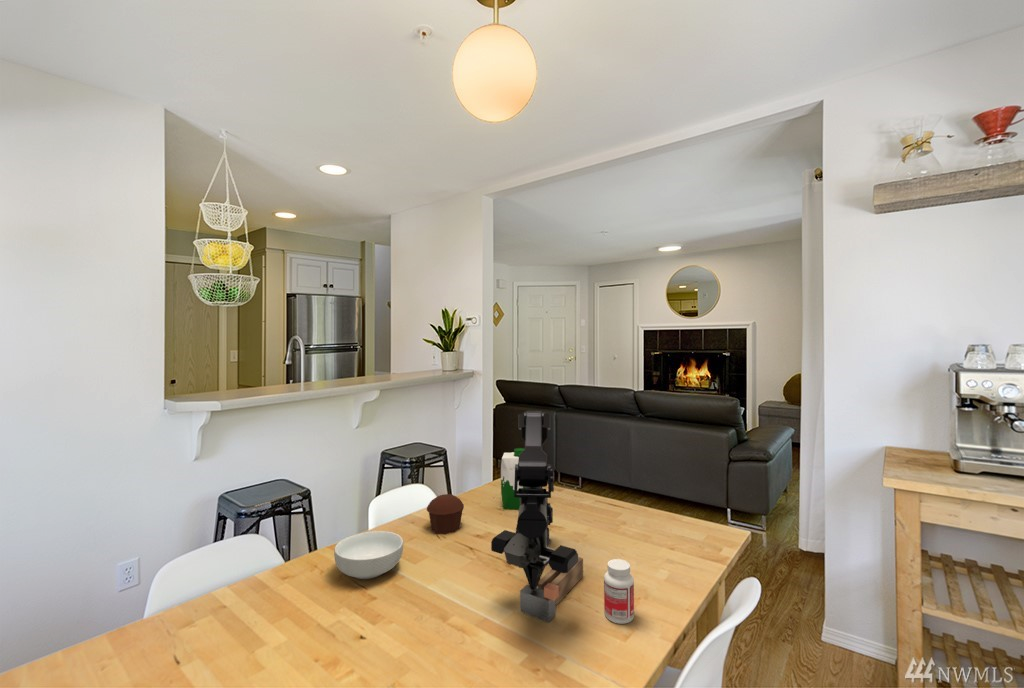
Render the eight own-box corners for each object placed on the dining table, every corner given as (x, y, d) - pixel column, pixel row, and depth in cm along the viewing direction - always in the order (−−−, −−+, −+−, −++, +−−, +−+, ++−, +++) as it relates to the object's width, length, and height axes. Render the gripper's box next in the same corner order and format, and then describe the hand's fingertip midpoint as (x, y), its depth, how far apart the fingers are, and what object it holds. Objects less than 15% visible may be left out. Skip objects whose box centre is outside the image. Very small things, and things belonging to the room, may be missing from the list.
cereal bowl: (416, 570, 116) (416, 542, 116) (355, 597, 104) (355, 567, 104) (381, 549, 128) (380, 524, 128) (322, 572, 116) (322, 544, 115)
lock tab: (544, 597, 95) (543, 587, 95) (548, 592, 97) (548, 582, 97) (554, 600, 94) (554, 590, 94) (558, 596, 96) (558, 585, 96)
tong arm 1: (544, 605, 100) (543, 585, 100) (536, 602, 101) (536, 582, 101) (575, 573, 113) (575, 556, 113) (568, 571, 114) (568, 553, 114)
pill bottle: (621, 604, 100) (621, 554, 100) (640, 619, 95) (640, 567, 95) (598, 612, 98) (598, 561, 98) (616, 628, 92) (616, 574, 92)
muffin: (449, 517, 150) (449, 487, 149) (471, 527, 142) (471, 495, 142) (419, 529, 141) (418, 496, 141) (441, 539, 133) (440, 505, 133)
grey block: (520, 611, 98) (519, 590, 98) (528, 603, 101) (528, 583, 101) (548, 622, 94) (548, 600, 94) (556, 613, 97) (556, 592, 97)
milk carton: (526, 511, 155) (525, 452, 155) (499, 510, 156) (499, 452, 156) (527, 501, 164) (527, 446, 163) (502, 501, 165) (502, 446, 164)
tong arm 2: (552, 608, 99) (552, 588, 99) (544, 606, 100) (544, 585, 100) (583, 576, 112) (582, 558, 112) (575, 573, 113) (575, 556, 113)
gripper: (475, 521, 96) (476, 594, 96) (554, 542, 86) (554, 624, 86) (504, 504, 105) (505, 570, 106) (579, 521, 95) (579, 595, 96)
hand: (533, 589), depth 98 cm, fingers closed
